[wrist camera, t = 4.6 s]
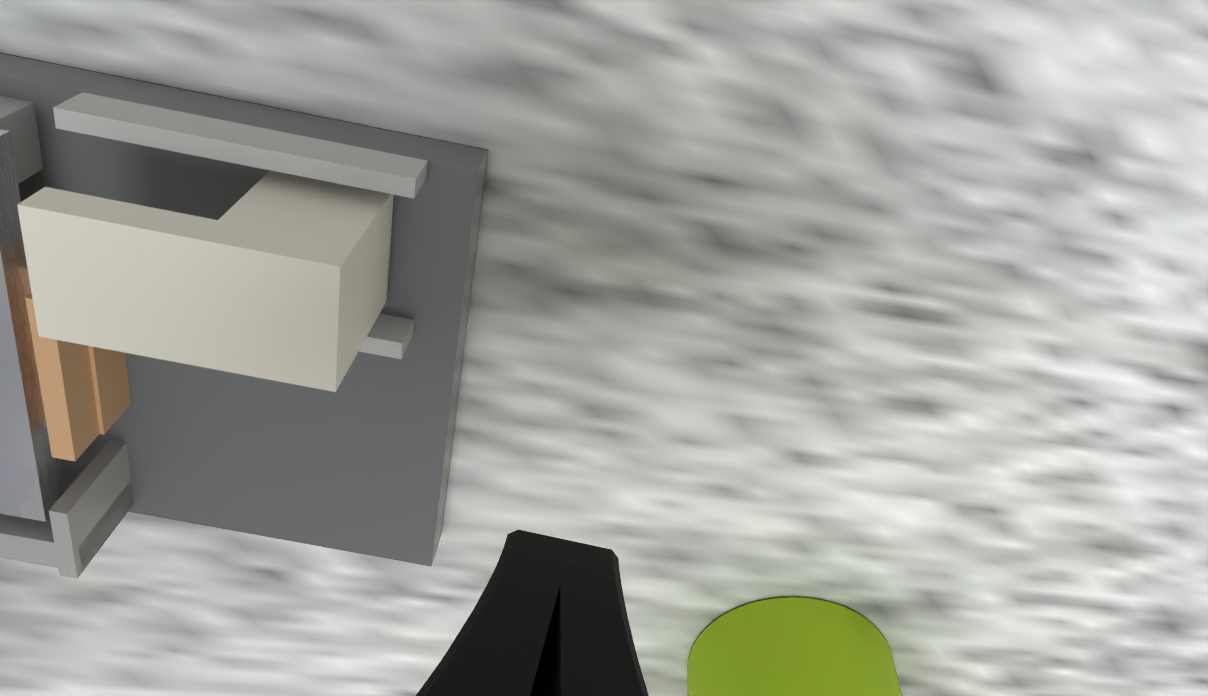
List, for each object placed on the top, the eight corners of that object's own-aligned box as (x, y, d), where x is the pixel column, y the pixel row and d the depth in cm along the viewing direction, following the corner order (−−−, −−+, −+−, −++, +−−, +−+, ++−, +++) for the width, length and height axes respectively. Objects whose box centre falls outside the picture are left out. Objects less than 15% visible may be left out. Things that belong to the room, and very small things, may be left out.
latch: (386, 301, 20) (335, 392, 17) (135, 252, 20) (38, 336, 17) (393, 189, 19) (340, 267, 16) (124, 136, 18) (17, 204, 15)
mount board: (441, 534, 25) (406, 645, 22) (-235, 411, 24) (-374, 507, 21) (488, 150, 19) (450, 223, 16) (-393, -26, 19) (-618, 14, 15)
